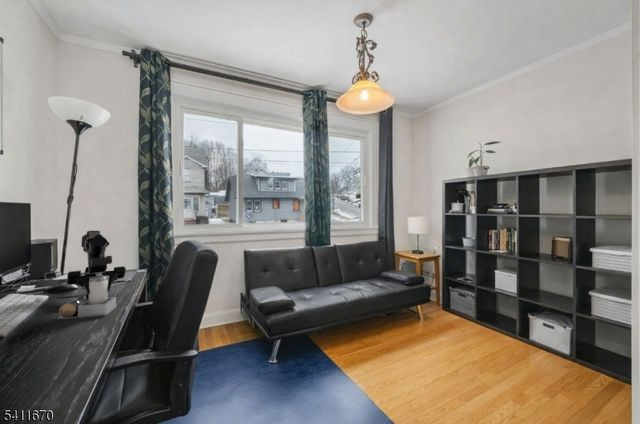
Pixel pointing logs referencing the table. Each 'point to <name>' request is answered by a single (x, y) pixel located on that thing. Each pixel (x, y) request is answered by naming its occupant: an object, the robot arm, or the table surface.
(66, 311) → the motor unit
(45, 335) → the table surface
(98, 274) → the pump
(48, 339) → the table surface
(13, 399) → the table surface
